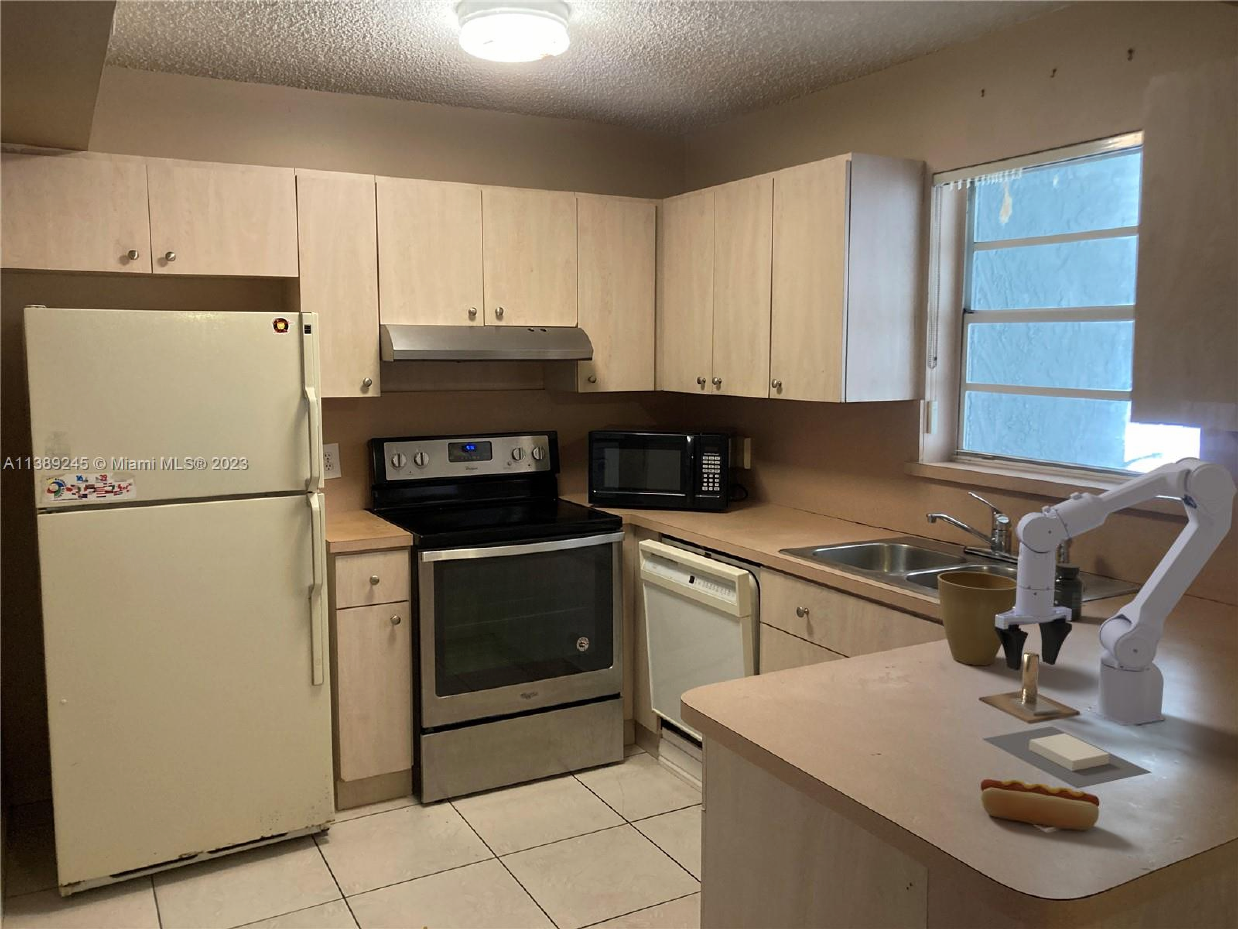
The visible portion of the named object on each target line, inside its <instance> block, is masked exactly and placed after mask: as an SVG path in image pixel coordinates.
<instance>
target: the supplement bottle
mask: <svg viewBox="0 0 1238 929" xmlns="http://www.w3.org/2000/svg"><path fill="white" fill-rule="evenodd" d="M1080 574H1081V572H1080V565H1077V564H1075V563H1066V562H1065V563H1064V562H1063V563H1062V562H1059V563H1056V565H1055V583H1054V603H1053V607H1066V608H1069V609H1072V613H1071V620H1070V621H1069V622H1076V621H1075V620H1078V621H1080V620H1081V619H1082V613H1083V600H1084V599H1083V598H1084V581H1083V579H1082V578H1081V577H1079V575H1080Z"/></svg>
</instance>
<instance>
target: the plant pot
mask: <svg viewBox="0 0 1238 929" xmlns="http://www.w3.org/2000/svg"><path fill="white" fill-rule="evenodd" d="M937 588H938V589H937V590H938V598H939V600H938V601H939V605H940V614H941V618H942V623H943V627H944V632H945V636H946V640H947V643H948V646H949V649H950V653H951V656H952V659H953V660H954V661H957V662H958V661H959V662H958V663H961V664H966V665H969V664H974V665H973V666H978V665H983V666H986V665H985V664H990V665H992V664H993V663H994V661H995V659H996V658H997V656H998V653H999V650H1000V648H1001V646H1002V643H1001V641H1000V639H999V637H998V635H997V633H996V631H995V629H994V628H995V617H996V615H998V614H1003V613H1006V612H1008V611H1011V610H1012V609H1013V607H1014V606H1016V590H1017V580H1015V579H1013V578H1010V577H1007V576H1002V575H1000V574H994V573H986V572H978V571H977V572H976V571H947V572H942V573H940V574H938V575H937ZM991 663H992V664H991Z"/></svg>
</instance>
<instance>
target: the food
mask: <svg viewBox="0 0 1238 929" xmlns="http://www.w3.org/2000/svg"><path fill="white" fill-rule="evenodd" d="M980 790H981V794H980V797H981V798H980V799H981V804H982V807H983V809H984V810H985V812H986V813H987V814H988V815H989V816H991V817H994V818H998V819H1002V820H1003V819H1004V820H1010V821H1011V820H1012V821H1017V822H1023V823H1026V824H1027V823H1028V824H1031V825H1043V826H1048V827H1052V828H1057V829H1063V830H1065V829H1066V830H1075V831H1088V830H1091V829H1092V828H1094V827H1095V825H1096V823H1097V822H1098V820H1099V815H1100V814H1099V813H1100V810H1099V806H1100V799H1099V798H1098V796H1096V795H1094V794H1092V793H1086V792H1084V791H1083V790H1080V791H1077V790H1076V791H1075V790H1074V789H1071V788H1070V787H1069V788H1068V787H1060V786H1059V787H1050V786H1049V785H1046V784H1043V783H1031V784H1027V783H1025V782H1024V781H1021V780H1015V779H1010V780H1000V779H999V780H998V779H990V778H988V779H983V780H981V782H980Z"/></svg>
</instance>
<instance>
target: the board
mask: <svg viewBox="0 0 1238 929" xmlns="http://www.w3.org/2000/svg"><path fill="white" fill-rule="evenodd" d="M1021 694H1022V690H1020V691H1019V690H1018V691H1012V692H1006V693H1000V694H998V693H997V694H992V695H986V696H980V697H978V700H979V701H980V702H983V703H984V704H986V705H989V706H991V707H992V708H995V709H998V710H999V711H1002V712H1003V713H1006V714H1008V715H1010V716H1012V717H1014V718H1016V719H1019V720H1021V721H1022V722H1024V723H1027V724H1030V723H1036V722H1041V721H1047V720H1048V721H1049V720H1054V719H1059V718H1065V717H1069V716H1076V715H1080V713H1081V712H1080V710H1077V709H1075V708H1073V707H1070V706H1068V705H1066V704H1063V703H1060V702H1059V701H1056V700H1054V699H1052V698H1049V697H1048V696H1044V695H1042V694H1041V693H1038V692H1037V698H1039V699H1041V700H1043V701H1045V702H1047V703H1049V704H1051V705H1053V706H1055V707H1056V708H1058V709H1060V713H1054V714H1044V715H1034V716H1033V715H1032V714H1030V713H1028V712H1026V711H1024V710H1023V709H1021V708H1019V707H1017V706H1015V705H1014V704H1012V703H1010V699H1017V698H1021Z"/></svg>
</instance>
